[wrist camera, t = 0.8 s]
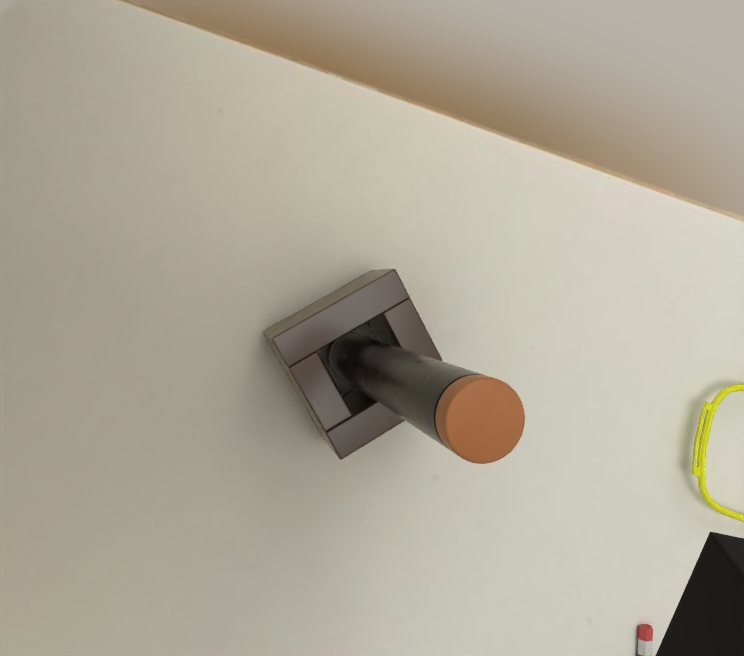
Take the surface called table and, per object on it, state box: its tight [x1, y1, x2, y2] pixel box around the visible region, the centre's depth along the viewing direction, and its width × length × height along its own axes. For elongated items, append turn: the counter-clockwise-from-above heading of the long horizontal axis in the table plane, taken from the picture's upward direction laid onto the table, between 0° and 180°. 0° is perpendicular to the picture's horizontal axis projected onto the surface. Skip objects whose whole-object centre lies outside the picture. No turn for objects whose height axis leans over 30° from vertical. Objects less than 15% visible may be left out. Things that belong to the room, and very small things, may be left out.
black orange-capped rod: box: [329, 333, 525, 464], centre depth 25 cm, size 2×2×16 cm
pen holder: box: [263, 269, 442, 459], centre depth 31 cm, size 6×6×4 cm
